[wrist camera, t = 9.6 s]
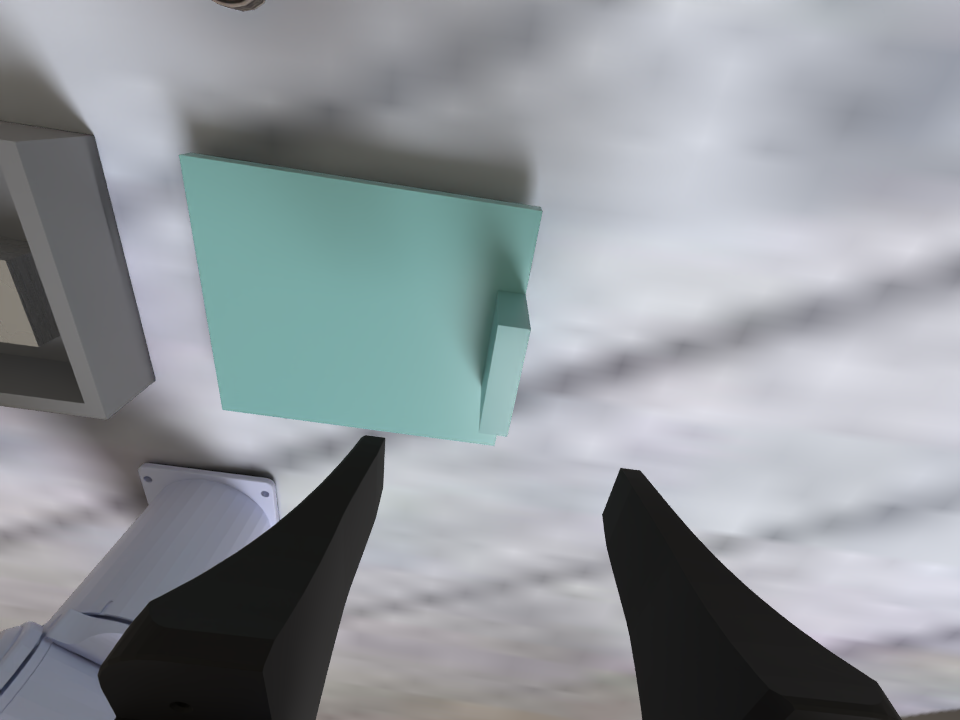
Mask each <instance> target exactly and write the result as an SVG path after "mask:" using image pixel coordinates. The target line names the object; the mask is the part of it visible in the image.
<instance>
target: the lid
mask: <svg viewBox="0 0 960 720" xmlns="http://www.w3.org/2000/svg"><path fill="white" fill-rule="evenodd" d="M179 158H180V163H181V169H182V175H183V181H184V187H185V193H186V199H187V204H188V210H189V216H190V222H191V228H192V234H193V240H194V245H195V251H196V257H197V263H198V269H199V275H200V281H201V286H202V292H203V298H204V304H205V310H206V316H207V322H208V327H209V333H210V339H211V345H212V351H213V357H214V363H215V368H216V374H217V380H218V386H219V392H220V398H221V404H222V409H223V410H228V411H235V412H243V413H250V414H258V415H265V416H273V417H280V418H288V419H295V420H303V421H311V422H318V423H326V424H333V425H341V426H348V427H356V428H363V429H371V430H378V431H386V432H393V433H401V434H408V435H416V436H424V437H431V438H439V439H446V440H454V441H461V442H469V443H476V444H484V445H491V446H494V445H495V441H496V436H497V435H498V436H505V437H507V435H508V431H509V426H510V422H511V417H512V413H513V408H514V404H515V399H516V395H517V390H518V386H519V381H520V376H521V372H522V367H523V363H524V358H525V354H526V349H527V345H528V340H529V336H530V331H531V328H530V321H529V314H528V308H527V301H526V289H527V285H528V280H529V275H530V270H531V265H532V260H533V255H534V250H535V246H536V241H537V236H538V231H539V226H540V221H541V216H542V212H543V211H542V209H541V207H537V206H530V205H524V204H517V203H511V202H504V201H498V200H492V199H485V198H479V197H472V196H466V195H459V194H453V193H447V192H440V191H434V190H427V189H421V188H415V187H408V186H402V185H395V184H389V183H382V182H376V181H370V180H363V179H357V178H350V177H344V176H337V175H331V174H325V173H318V172H312V171H305V170H299V169H292V168H286V167H280V166H273V165H267V164H260V163H254V162H248V161H241V160H235V159H228V158H222V157H215V156H209V155H203V154H196V153H187V154H181V155H179Z"/></svg>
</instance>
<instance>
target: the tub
mask: <svg viewBox="0 0 960 720" xmlns="http://www.w3.org/2000/svg"><path fill="white" fill-rule="evenodd" d="M0 236H1V237H7V238H14V239H21V240H27V242H28V245H29V247H30V250H31V253H32V256H33V259H34V262H35V264H36V267H37V270H38V273H39V276H40V278H41V281H42V284H43V287H44V290H45V293H46V295H47V298H48V301H49V304H50V307H51V310H52V312H53V315H54V318H55V321H56V324H57V327H58V329H59V332H60V336H59V337H57V338H55V339H53V340H51V341H49V342H47V343H45V344H43V345H42V346H40V347H35V346H27V345H20V344H13V343H5V342H0V406H5V407H13V408H21V409H28V410H36V411H44V412H51V413H59V414H67V415H74V416H82V417H90V418H97V419H105V420H107V419H109V418H110V417H111V416H112V415H113V414H115V413H116V412H117V411H118V410H120V409H121V408H122V407H123V406H125V405H126V404H127V403H128V402H129V401H131V400H132V399H133V398H134V397H136V396H137V395H138V394H139V393H141V392H142V391H143V390H144V389H145V388H147V387H148V386H149V385H150V384H152V383H153V382H154V381H155V377H154V373H153V369H152V365H151V361H150V357H149V353H148V349H147V345H146V341H145V337H144V333H143V329H142V325H141V321H140V317H139V313H138V309H137V305H136V301H135V297H134V293H133V289H132V285H131V281H130V277H129V273H128V269H127V265H126V261H125V257H124V253H123V249H122V245H121V241H120V237H119V233H118V230H117V226H116V222H115V218H114V214H113V210H112V206H111V202H110V198H109V194H108V190H107V186H106V182H105V178H104V174H103V170H102V166H101V162H100V158H99V154H98V150H97V146H96V142H95V138H94V135H88V134H81V133H75V132H68V131H62V130H56V129H49V128H43V127H36V126H30V125H24V124H17V123H11V122H4V121H0Z"/></svg>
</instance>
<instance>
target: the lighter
mask: <svg viewBox="0 0 960 720" xmlns="http://www.w3.org/2000/svg"><path fill="white" fill-rule="evenodd" d="M212 1H214V2H216V3H217V4H220V5H223V6H225V7H228V8H231V9H235V10H240V11H249V10H255V9H256V8H258V7H259V6H261V5H262V4H264V2H265V0H212Z"/></svg>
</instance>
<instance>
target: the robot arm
mask: <svg viewBox="0 0 960 720" xmlns="http://www.w3.org/2000/svg"><path fill="white" fill-rule="evenodd" d="M384 454H385V438H382V437H374V436H367V435H365V436H363V437H362V438H361V439H360V440H359V441H358V443H357V444H356V445H355V446H354V448H353V449H352V450H351V451H350V452H349V454H348V455H347V456H346V457H345V458H344V459H343V461H342V462H341V463H340V464H339V465H338V466H337V467H336V468H335V469H334V470H333V471H332V472H331V474H330V475H329V476H328V477H327V478H326V479H325V480H324V481H323V482H322V483H321V484H320V485H319V486H318V487H317V488H316V489H315V490H314V491H313V492H312V493H311V494H309V495H308V496H307V497H306V498H305V499H304V500H303V501H302V502H301V503H300V504H299V505H298V506H297V507H295V508H294V509H293V510H292V511H291V512H290V513H288V514H287V515H286V516H285V517H284V518H282V519H281V520H280V521H279V515H278V506H277V497H276V488H275V483H274V482H273V481H272V480H271V479H268V478H263V477H255V476H247V475H239V474H231V473H223V472H215V471H207V470H200V469H192V468H184V467H176V466H168V465H160V464H152V463H144V464H142V465H141V466H140V467H139V469H138V473H139V476H140V479H141V482H142V486H143V489H144V492H145V495H146V498H147V502H148V505H149V506H148V507H147V508H146V509H145V510H144V511H143V512H142V514H141V515H140V516H139V517H138V518H137V519H136V521H135V522H134V523H133V524H132V525H131V526H130V527H129V529H128V530H127V531H126V532H125V533H124V534H123V536H122V537H121V538H120V539H119V540H118V541H117V542H116V544H115V545H114V546H113V547H112V548H111V549H110V551H109V552H108V553H107V554H106V555H105V556H104V558H103V559H102V560H101V561H100V562H99V563H98V564H97V566H96V567H95V568H94V569H93V570H92V571H91V573H90V574H89V575H88V576H87V577H86V578H85V579H84V581H83V582H82V583H81V584H80V585H79V586H78V588H77V589H76V590H75V591H74V592H73V593H72V594H71V596H70V597H69V598H68V599H67V600H66V601H65V603H64V604H63V605H62V606H61V607H60V608H59V609H58V611H57V612H56V613H55V614H54V615H53V616H52V618H51V619H50V620H49V621H48V622H47V623H46V624H44V625H43V626H41V625H39V624H37V623H35V622H26V623H24V624H22V625H20V626H16V627H13V628H9V629H6V630H3V631H1V632H0V720H316V716H317V712H318V707H319V703H320V699H321V695H322V691H323V687H324V683H325V679H326V675H327V671H328V667H329V663H330V659H331V655H332V651H333V648H334V644H335V640H336V636H337V632H338V628H339V625H340V621H341V617H342V613H343V610H344V606H345V603H346V600H347V596H348V593H349V590H350V587H351V585H352V582H353V579H354V576H355V574H356V571H357V568H358V565H359V563H360V560H361V557H362V555H363V552H364V549H365V546H366V544H367V541H368V538H369V535H370V533H371V530H372V527H373V524H374V522H375V519H376V515H377V511H378V507H379V502H380V498H381V494H382V490H383V478H384ZM602 516H603V524H604V532H605V539H606V546H607V550H608V554H609V558H610V562H611V566H612V570H613V574H614V577H615V581H616V585H617V588H618V592H619V596H620V600H621V603H622V607H623V611H624V614H625V618H626V622H627V627H628V631H629V635H630V641H631V647H632V653H633V659H634V665H635V671H636V677H637V684H638V691H639V698H640V705H641V712H642V720H902V719H901V718H900V716H899V715H898V713H897V712H896V710H895V709H894V707H893V706H892V704H891V703H890V701H889V700H888V698H887V696H886V695H885V693H884V692H883V690H882V689H881V687H880V686H879V685H878V683H877V682H876V681H874V680H873V679H871V678H870V677H868V676H867V675H865V674H864V673H862V672H861V671H859V670H858V669H856V668H855V667H853V666H852V665H850V664H849V663H847V662H846V661H844V660H842V659H841V658H839V657H838V656H836V655H835V654H833V653H832V652H830V651H829V650H827V649H826V648H825V647H823V646H822V645H820V644H819V643H818V642H816V641H815V640H814V639H812V638H811V637H809V636H808V635H807V634H805V633H804V632H803V631H801V630H800V629H798V628H797V627H796V626H795V625H793V624H792V623H791V622H789V621H788V620H787V619H785V618H784V617H783V616H782V615H780V614H779V613H778V612H777V611H775V610H774V609H773V608H772V607H771V606H769V605H768V604H767V603H766V602H764V601H763V600H762V599H761V598H760V597H758V596H757V595H756V594H755V593H754V592H753V591H751V590H750V589H749V588H748V587H747V586H746V585H745V584H744V583H742V582H741V581H740V580H739V579H738V578H737V577H736V576H735V575H734V574H733V573H732V572H731V571H730V570H728V569H727V568H726V567H725V566H724V565H723V564H722V563H721V562H720V561H719V560H718V559H717V558H716V557H715V556H714V555H713V554H712V553H711V552H710V551H709V550H708V549H707V547H706V546H705V545H704V544H703V543H702V542H701V541H700V540H699V539H698V538H697V537H696V536H695V535H694V534H693V532H692V531H691V530H690V529H689V528H688V527H687V526H686V525H685V523H684V522H683V521H682V520H681V519H680V518H679V517H678V515H677V514H676V513H675V512H674V511H673V509H672V508H671V507H670V506H669V505H668V503H667V502H666V501H665V500H664V499H663V497H662V496H661V495H660V494H659V493H658V491H657V490H656V489H655V488H654V486H653V485H652V484H651V483H650V482H649V480H648V479H647V478H646V477H645V476H644V475H643V473H642V472H641V471H640V470H632V469H624V468H620V471H619V473H618V476H617V478H616V481H615V483H614V486H613V489H612V491H611V494H610V496H609V499H608V501H607V504H606V507H605V509H604V512H603V514H602Z"/></svg>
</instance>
